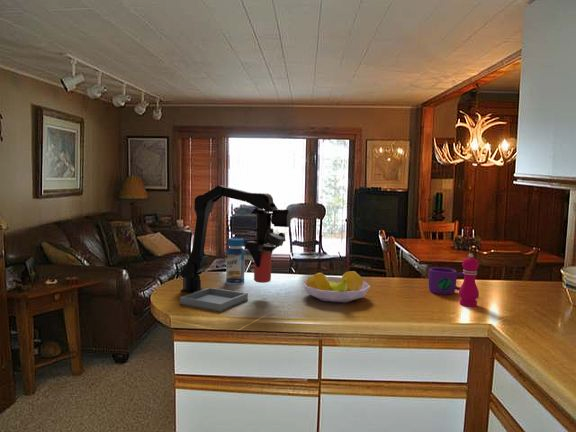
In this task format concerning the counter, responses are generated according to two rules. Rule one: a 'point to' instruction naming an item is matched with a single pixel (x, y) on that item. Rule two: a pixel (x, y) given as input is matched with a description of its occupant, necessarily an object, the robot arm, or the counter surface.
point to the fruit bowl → (336, 287)
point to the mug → (443, 280)
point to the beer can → (263, 268)
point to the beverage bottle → (235, 261)
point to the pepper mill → (469, 282)
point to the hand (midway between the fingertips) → (262, 265)
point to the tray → (214, 299)
